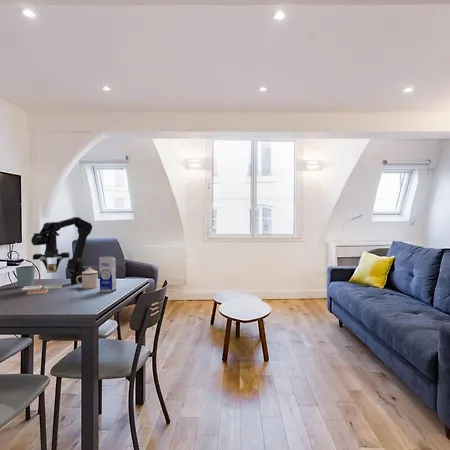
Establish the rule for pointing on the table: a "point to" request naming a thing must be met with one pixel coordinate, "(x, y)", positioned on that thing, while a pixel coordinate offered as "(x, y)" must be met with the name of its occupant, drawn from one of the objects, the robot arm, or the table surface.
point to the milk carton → (107, 274)
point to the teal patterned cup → (25, 276)
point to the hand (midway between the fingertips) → (52, 270)
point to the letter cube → (51, 268)
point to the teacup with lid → (89, 279)
